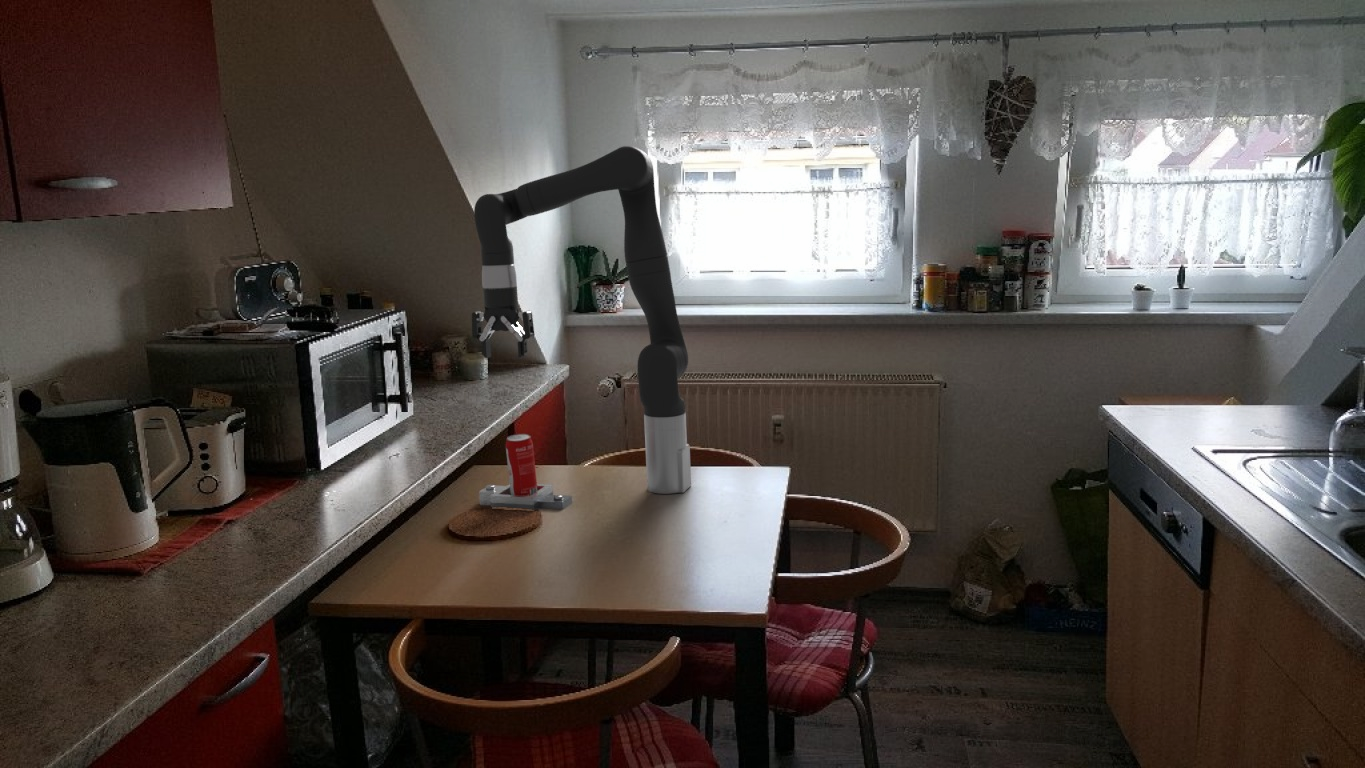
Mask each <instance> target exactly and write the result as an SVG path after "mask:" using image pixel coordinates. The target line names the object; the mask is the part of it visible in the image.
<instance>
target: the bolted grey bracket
mask: <svg viewBox="0 0 1365 768" xmlns="http://www.w3.org/2000/svg"><path fill="white" fill-rule="evenodd" d="M553 486H554V485H553V484H546V483H545V484H543V483H537V490H538V491H537V492H535V493H534V494H532V495H531V496H522V495H511V490H510V483H508V484H507V485H495V484H488V485H487V484H486V485H485V487H484V488H482V489H481V490H479V491H478V498H479V506H490V508H491V507H507V508H522V509H532V510H536V511H537V510H539V509H550V510H564V509H565V508H567V507H568V506H570V505H571V504H572V503H573V496H572V495H563V494H554V487H553Z"/></svg>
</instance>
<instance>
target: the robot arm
mask: <svg viewBox="0 0 1365 768" xmlns="http://www.w3.org/2000/svg"><path fill="white" fill-rule="evenodd" d="M615 190H618V194H619V197H620V201H621V205H622V210H623V215H624V216H623V217H624V234H623V235H624V237H623V238H624V240H623V244H624V247H623V249H624V250H623V251H624V252H623V253H624V260H625V266H626V272H627V277H628V281H629V282H628V283H629V286H630V288H631V290H632V292H633V295H634V297H635V299H636V301H637V303H638V304H639V306H640V308H641V309H642V312H643V313H644V316H645V319H646V322H647V327H648V333H649V341H650V342H649V343H650V344H648V345H645V346H644V347H643V348H642V350H641V351H640V353H639V354H638V358H637V380H638V381H637V382H638V393H639V399H640V403H641V405H642V408H643V420H644V422H643V423H644V424H643V425H644V438H645V439H644V441H645V442H644V445H645V464H646V465H645V466H646V467H645V468H646V469H645V470H646V485H647V486H646V487H647V490H648V492H651V493H654V494H665V495H667V494H668V495H669V494H677V493H686V491H687V490H688V489H689V488H690V487H691V486H692V477H691V476H692V473H691V471H692V470H691V467H692V466H691V450H690V449H691V445H690V444H689V443H688V440H687V438H688V437H687V411H686V410H687V409H686V402H685V400H684V398H682V397H681V395H680V392H679V381H678V379H679V378H681V377H683V375H685V372H686V371H687V369H688V365H689V355H688V349H687V347H686V341H685V339H684V335H683V333H682V328H681V325H680V322H679V321H680V320H679V317H678V313H677V306H676V298H675V294H674V293H675V292H674V289H673V282H672V274H671V270H670V269H671V267H670V263H669V258H668V253H667V247H666V242H665V238H664V234H663V229H662V226H661V221H660V218H659V214H658V209H657V203H656V189H655V176H654V165H653V161H652V160H651V157H650V156H649V155H648V154H647V153H646V152H645V151H644V150H642V149H641V148H640V149H639V148H638V147H635V146H632V145H624V146H623V145H622V146H619V147H618V148H617V149H615V150H612V151H611V152H609V153H607V154H605V155H603V156H601V157H599V158H597V159H595V160H593V161H591V162H588V163H586V164H584V165H581V166H579V167H576V168H573V169H569V170H566V171H563V172H560V173H556V174H552V175H548V176H546V177H542V178H539V179H536V180H533V181H530V182H526V183H523V184H521V185H518V187H517V188H515V189H512V190H508V191H504V192H500V193H494V194H493V193H486V194H484V195H481V196H480V197H479V198H478V199H477V200H476V202H475V204H474V208H473V209H474V210H473V211H474V212H473V218H474V223H475V228H476V232H477V237H478V239H479V242H480V250H481V251H480V253H481V254H480V255H481V265H482V266H481V268H482V269H481V285H482V295H483V296H482V297H483V307H484V312H483V311H482V312H481V311H474V312H472V313H471V337H472V338H473V339H476V340H479V341H480V345H481V346H480V347H481V354H482V356H483V358H484V359H489V358H491V357H492V345H491V340H489V339H490V338H491V337H492V335H493V334H494V333H495V332H500V331H503V332H508V331H509V332H510V333H511V334H512V335H513V336H515V338H516V339H517V340H518V341H517V354H518V359H523V358H525V357H526V355H528V340H529V339H531V338H534V337H535V327H534V319H533V312H532V310H526V311H519V308H518V307H519V298H518V297H519V296H518V285H517V284H518V283H517V272H516V267H515V259H514V257H515V256H514V245H513V242H512V240H510V238H509V237H508V236H509V235H508V231H507V230H508V228H507V225H510V224H512V223H515V222H518V221H520V220H523V219H525V218H527V217H531V216H537V215H539V214H543V213H547V212H549V211H553V210H555V209H558V208H561V207H563V206H566V205H568V204H570V203H573V202H575V201H577V200H579V199H581V198H584V197H587V196H591V195H593V194H596V193H601V192H602V193H603V192H608V191H615ZM519 319H520V320H521V321H522V322H523V323H522V324H523V327H522V326H521V325H520V324H519V322H518V321H519ZM483 321H486V323H487V324H486V325H485V327H484V328H483Z"/></svg>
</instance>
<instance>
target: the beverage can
mask: <svg viewBox="0 0 1365 768" xmlns="http://www.w3.org/2000/svg"><path fill="white" fill-rule="evenodd" d="M505 452H506V463H507V470H508V472H507V473H508V481H509V484H510V490H511V495H522V496H531V495H532V494H534V493H535V492H537V491H538V490H537V484H538V482H537V481H538V480H537V472H536V464H535V452H534V443H533V440H532V437H531V435H530V434H527V433H516V434H515V433H514V434H512V435H509V436H507V438H506V441H505Z"/></svg>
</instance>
